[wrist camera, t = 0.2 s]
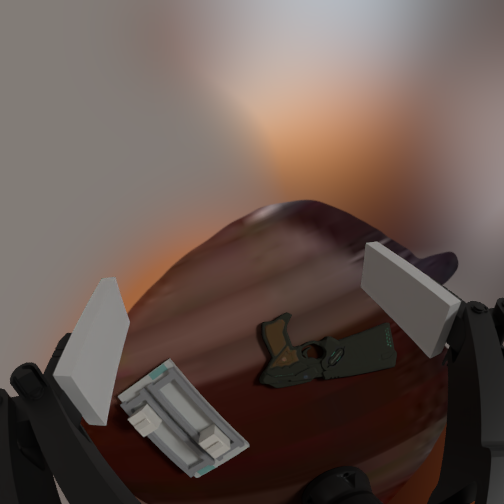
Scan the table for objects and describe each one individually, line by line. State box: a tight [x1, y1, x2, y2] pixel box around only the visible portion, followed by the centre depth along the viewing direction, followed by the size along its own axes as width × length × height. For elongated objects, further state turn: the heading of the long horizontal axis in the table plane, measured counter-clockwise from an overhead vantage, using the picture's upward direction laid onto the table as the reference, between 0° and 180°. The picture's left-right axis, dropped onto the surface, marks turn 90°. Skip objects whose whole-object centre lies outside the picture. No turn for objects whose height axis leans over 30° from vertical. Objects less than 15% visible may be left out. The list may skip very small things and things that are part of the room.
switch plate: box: [118, 358, 249, 478], centre depth 41 cm, size 22×13×3 cm, turn 39°
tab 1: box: [128, 403, 163, 437], centre depth 38 cm, size 4×3×6 cm
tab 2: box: [198, 423, 230, 459], centre depth 38 cm, size 4×3×6 cm
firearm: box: [259, 312, 397, 388], centre depth 47 cm, size 28×2×15 cm
